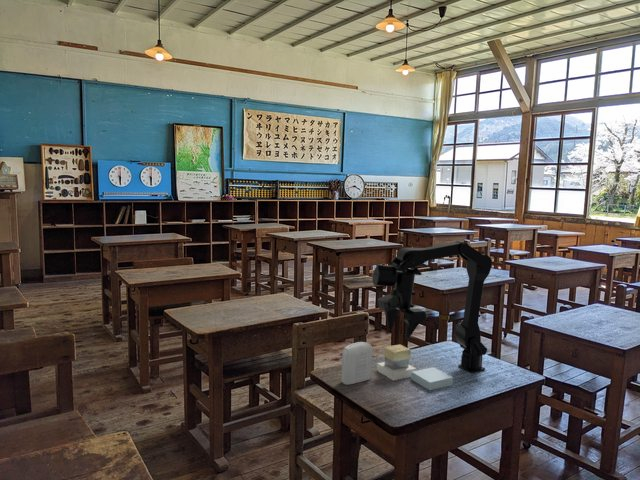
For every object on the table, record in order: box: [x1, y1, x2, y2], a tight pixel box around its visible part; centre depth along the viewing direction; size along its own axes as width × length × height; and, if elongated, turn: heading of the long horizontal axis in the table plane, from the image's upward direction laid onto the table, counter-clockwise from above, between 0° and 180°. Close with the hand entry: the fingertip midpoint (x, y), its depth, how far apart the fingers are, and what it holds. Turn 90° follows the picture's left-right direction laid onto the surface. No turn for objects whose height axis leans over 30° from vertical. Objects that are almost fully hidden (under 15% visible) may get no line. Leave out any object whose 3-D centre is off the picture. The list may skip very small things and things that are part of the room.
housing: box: [383, 344, 412, 370], centre depth 158 cm, size 7×6×6 cm
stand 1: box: [376, 361, 417, 382], centre depth 159 cm, size 9×9×2 cm
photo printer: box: [341, 341, 373, 386], centre depth 152 cm, size 10×4×12 cm, turn 123°
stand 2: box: [410, 366, 454, 391], centre depth 152 cm, size 9×9×2 cm
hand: (398, 334), depth 157 cm, fingers open, 9 cm apart
